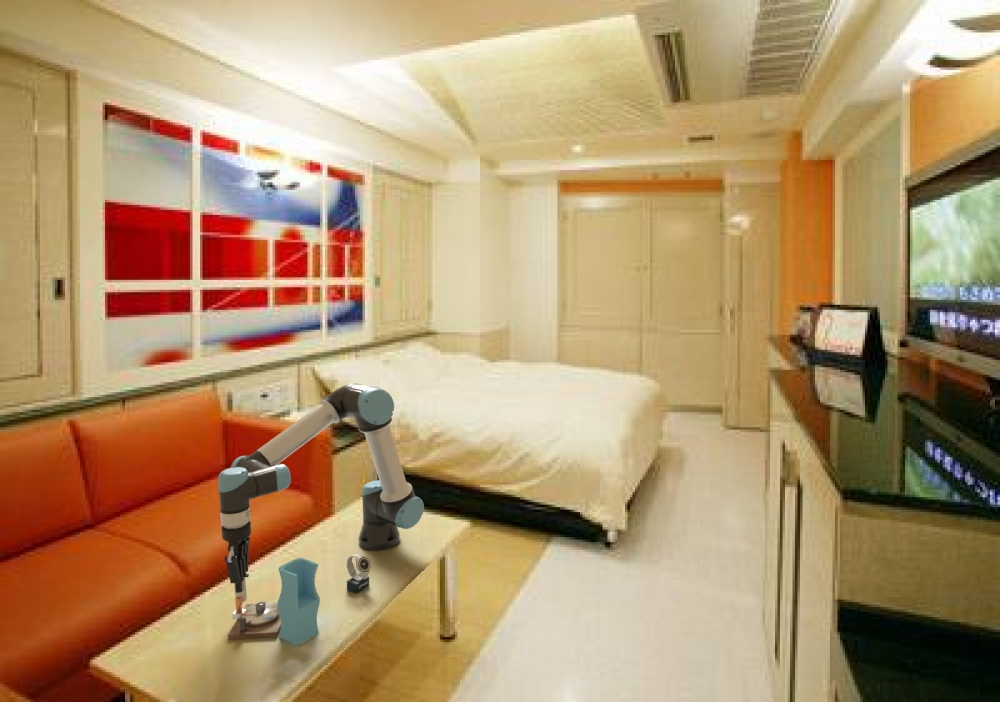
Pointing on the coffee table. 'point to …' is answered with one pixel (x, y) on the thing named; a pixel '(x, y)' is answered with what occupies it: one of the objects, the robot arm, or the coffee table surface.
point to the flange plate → (256, 612)
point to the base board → (254, 629)
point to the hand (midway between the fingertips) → (241, 600)
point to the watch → (358, 580)
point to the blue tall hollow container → (298, 601)
